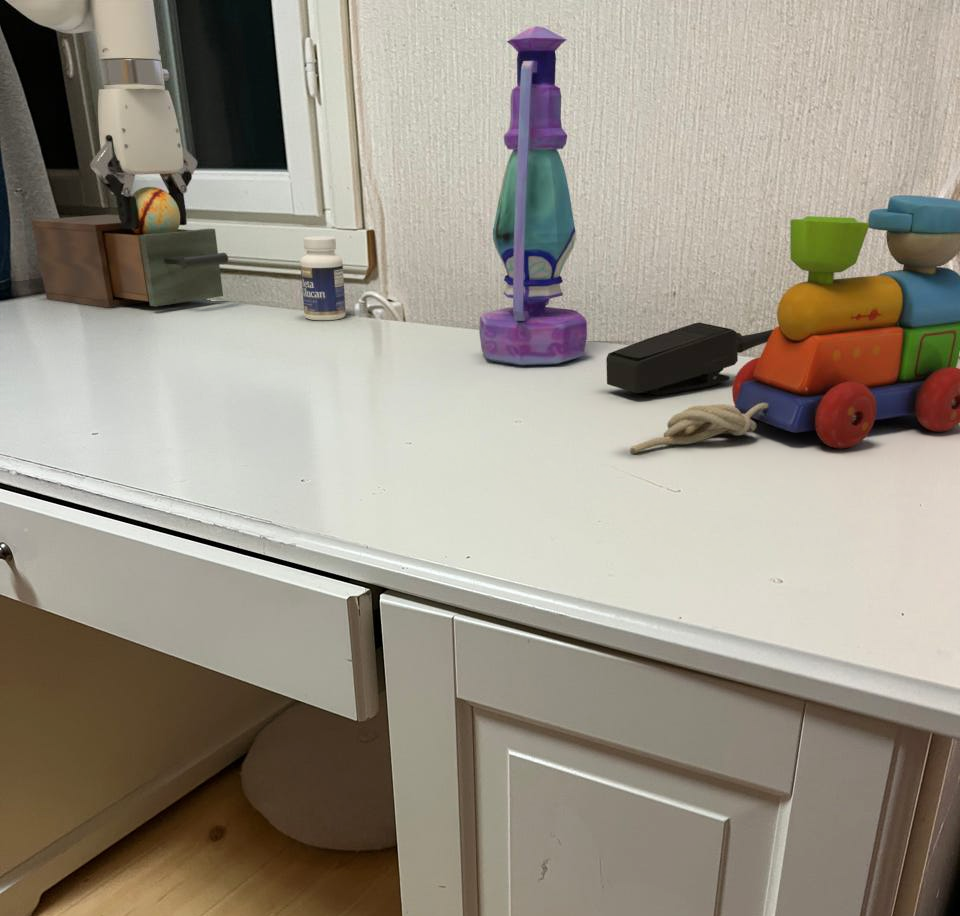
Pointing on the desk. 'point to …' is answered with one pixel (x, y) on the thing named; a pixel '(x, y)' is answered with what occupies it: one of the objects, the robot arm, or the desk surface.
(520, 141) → the lantern
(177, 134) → the robot arm
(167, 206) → the ball
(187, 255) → the drawer
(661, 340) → the walkie-talkie
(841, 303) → the toy train
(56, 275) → the cabinet
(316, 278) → the pill bottle
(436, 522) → the desk surface
